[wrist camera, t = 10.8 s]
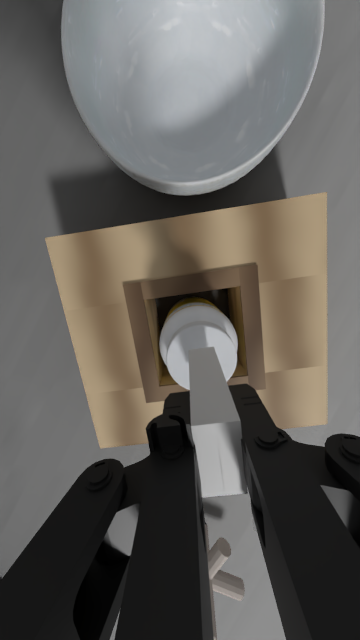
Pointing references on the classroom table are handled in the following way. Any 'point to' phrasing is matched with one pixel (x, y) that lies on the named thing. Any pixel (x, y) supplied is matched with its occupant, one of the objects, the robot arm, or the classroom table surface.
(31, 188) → the classroom table surface
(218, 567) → the pipe connector
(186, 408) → the robot arm
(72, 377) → the classroom table surface
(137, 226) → the seat board
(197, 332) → the pill bottle
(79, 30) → the cereal bowl
